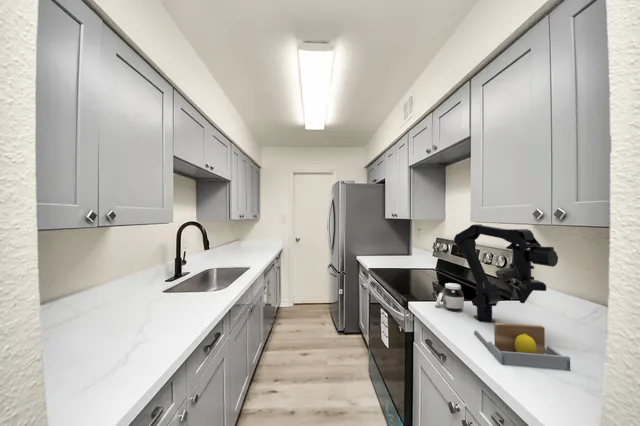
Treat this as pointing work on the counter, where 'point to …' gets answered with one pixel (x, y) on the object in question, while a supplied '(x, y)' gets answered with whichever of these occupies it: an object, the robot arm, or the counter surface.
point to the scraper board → (509, 332)
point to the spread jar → (452, 297)
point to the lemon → (525, 344)
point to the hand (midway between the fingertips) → (522, 303)
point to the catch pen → (528, 357)
